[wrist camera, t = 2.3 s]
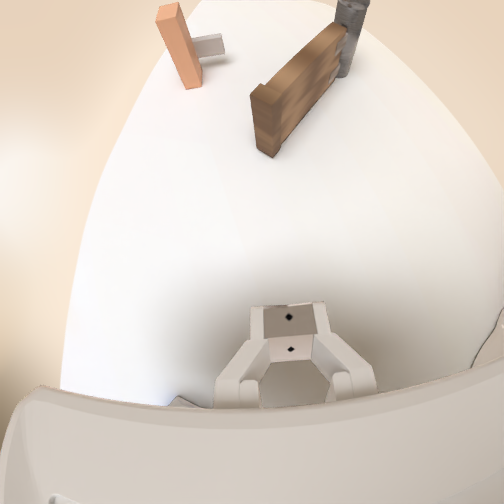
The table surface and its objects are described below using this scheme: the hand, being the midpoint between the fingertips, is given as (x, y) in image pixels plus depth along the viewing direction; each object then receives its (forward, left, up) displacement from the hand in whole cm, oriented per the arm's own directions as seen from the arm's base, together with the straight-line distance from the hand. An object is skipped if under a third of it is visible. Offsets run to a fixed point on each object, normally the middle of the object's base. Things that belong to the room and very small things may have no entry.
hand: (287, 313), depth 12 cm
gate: (-4, -20, -15) cm, 26 cm away
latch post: (+6, -27, -16) cm, 32 cm away
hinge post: (-10, -27, -16) cm, 33 cm away
